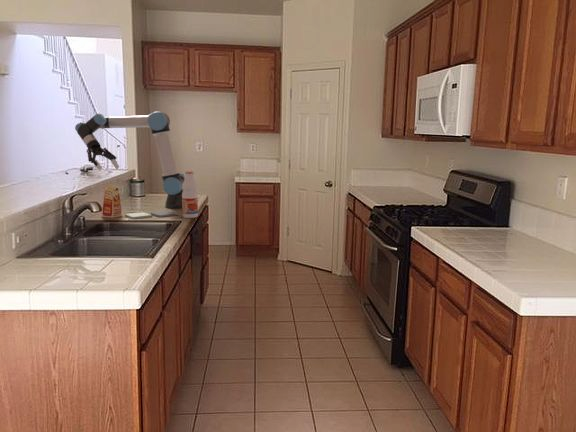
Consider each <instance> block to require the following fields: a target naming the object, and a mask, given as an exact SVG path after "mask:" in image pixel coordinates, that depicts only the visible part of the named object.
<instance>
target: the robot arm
mask: <svg viewBox="0 0 576 432" xmlns="http://www.w3.org/2000/svg"><path fill="white" fill-rule="evenodd" d="M170 123H171V120H170V117H169V116H168V114H166V113H165V112H162V111H154V112H151V113H149V114H148V115H130V116H129V115H128V116H127V115H124V116H123V115H122V116H104V115H103V114H102V113H100V112H98V113H96V114H94V115H93V116H92V117H91V118H90V119H89V120H87V121H86V122H83V121H80V122H78V123H77V124H75V126H74V129H75V131H76V133H77V134H78V136H79V138H81V140H82V142H83V143H84V144H85V146H86V147H87V149H86V154H87V158H88V163H91V164H93V165H94V167H96V168H97V170H98V171H101V170H102V169H103V167H102V165H101V164H100V162H99V161H98V159H96V158H97V156H101V157H104V158H106V159H108V160H109V161H111V164H112V166H113V167H114V168H115V169H116V170H118V169H119V168H120V165H119V163H118V161H116V160H117V158H118V157H117V156H116V155H114V154H113V153H112V152H111V151H109V150H108V149H107V148H106V147H104V148H102V147H101V143H100V142H99V141H98V140H97V138H96V136H95V135H94V133H95V132H97V130H99V129H123V128H124V129H126V128H127V129H128V128H130V129H133V128H135V129H136V128H149V129H150V131H151V135H152V136H154V138H155V142H156V147H157V151H158V156H159V160H160V165H161V168H162V175H161V179H162V189H163V191H164V192H165V193H166V194H167V197H166V200H165V203H164V204H165V205H164V207H165V208H169V209H182V192H183V189H182V184H183V182H184V180H185V177H186V176H185V174H184V173H180V172H179V171H178V170H177V167H176V163H175V158H174V154H173V149H172V145H171V140H170V135H169V134H170V132H171V129H170Z"/></svg>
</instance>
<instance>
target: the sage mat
mask: <svg viewBox="0 0 576 432" xmlns="http://www.w3.org/2000/svg"><path fill="white" fill-rule="evenodd" d="M124 217H125V218H129V219H132V220H137V218H138V219H145V218H153V215H151V213H150V214H149V213H147V212H144V211H141V212H134V213H133V212H132V213H124Z"/></svg>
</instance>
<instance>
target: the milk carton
mask: <svg viewBox="0 0 576 432" xmlns="http://www.w3.org/2000/svg"><path fill="white" fill-rule="evenodd" d="M103 193H104V195H103V198H102V199H103V200H102V207H101V208H102V209H103V211H102V209H101V217H102V218H119V217H121V216H122V215H123V213H122V212H123V211H122V205H121V196H120V190H119V186H117V185H113V184H111V183H107V186H106V187H105V189H104V192H103Z"/></svg>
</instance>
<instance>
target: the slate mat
mask: <svg viewBox="0 0 576 432" xmlns="http://www.w3.org/2000/svg"><path fill="white" fill-rule="evenodd" d="M150 215H152V216H155V217H157V218H165V217H174V216H178V213H177V212H173V211H171V210H164V211H154V212H150Z"/></svg>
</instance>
